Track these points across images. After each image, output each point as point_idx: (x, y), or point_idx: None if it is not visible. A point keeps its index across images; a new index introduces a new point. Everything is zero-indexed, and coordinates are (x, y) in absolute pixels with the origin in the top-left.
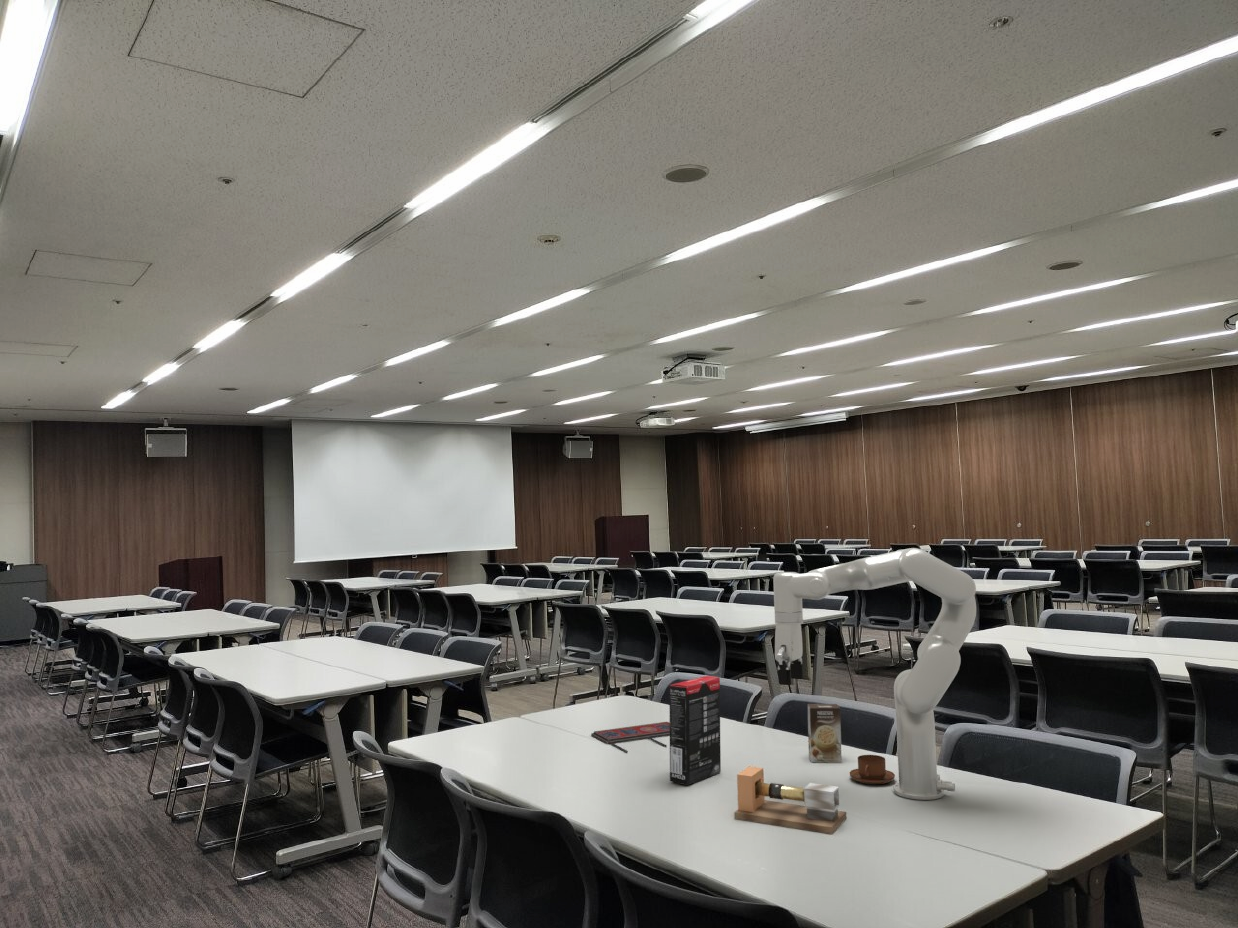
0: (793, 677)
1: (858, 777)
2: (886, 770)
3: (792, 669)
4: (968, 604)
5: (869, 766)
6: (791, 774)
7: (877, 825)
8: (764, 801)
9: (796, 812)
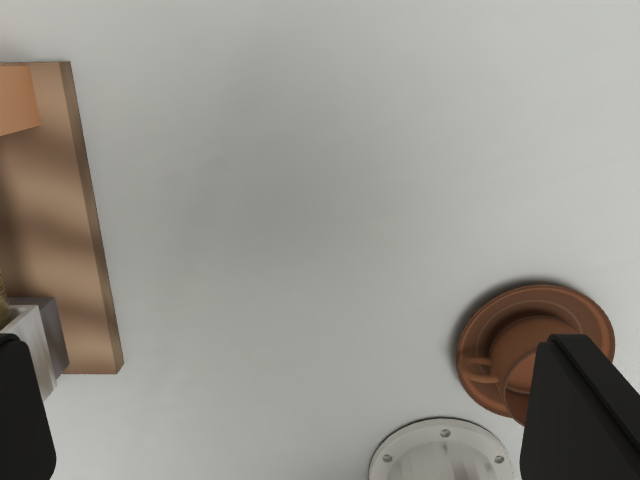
0: (537, 375)
1: (533, 304)
2: None
3: (603, 461)
4: None
5: (498, 382)
6: (506, 59)
7: (116, 437)
8: (39, 125)
9: (20, 254)
